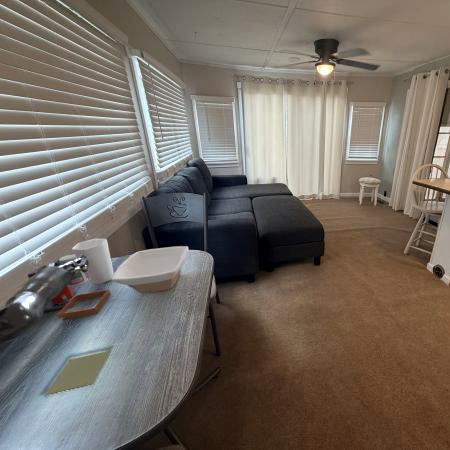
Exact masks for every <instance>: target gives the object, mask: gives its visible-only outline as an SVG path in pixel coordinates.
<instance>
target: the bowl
mask: <svg viewBox="0 0 450 450" xmlns="http://www.w3.org/2000/svg"><path fill="white" fill-rule="evenodd" d="M188 256H189V246H187V245H185V246H183V245H180V246H179V245H178V246H177V245H176V246H170V247H169V246H168V247H160V248H151V249H150V248H149V249H146V250H145V249H144V250H140V251H136V252H134V253H133V254H132V255H130V256H129V257H128V258H127V259H125V260H124V261H122V263H121V264H120V265H119V266H118V267H117V269H116V270H115V271H114V274H113V277H112V279H111V280H110V281H111V283H112V282H113V283H116V284H121V285H125V286H127V287H129V288H131V289H133V290H135V291H136V292H138V293H140V294H149V293H157V292H164V291H167V290H171V289H172V288H173V287H174V286H175V284H176V283H177V281H178V279H179V277H180V276H179V275H180V273H181V269H182V268H183V265H184V264H185V262H186V261H187V260H188Z"/></svg>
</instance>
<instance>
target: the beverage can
mask: <svg viewBox="0 0 450 450" xmlns="http://www.w3.org/2000/svg"><path fill="white" fill-rule="evenodd" d="M75 295H76V293H75V292H74V290H73V287H69V286H68V285H66V286H65V287H64V289H63V290H62V291H61V292H60V293H59V294H58V295H57V296H56V297H55V298H54V299H53V300H52V301H51V303H52V304H55V305H65V304H67V303H68V302H69V301H70V300H71V299H72V298H73V297H74V296H75Z"/></svg>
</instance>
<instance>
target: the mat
mask: <svg viewBox="0 0 450 450" xmlns="http://www.w3.org/2000/svg"><path fill="white" fill-rule="evenodd" d="M111 353H112V350H106V351H102V352H97V353H93V354H92V353H91V354H88V355H84V356H79V357H74V358H69V359H68V361H67V363H66V364H65V366H64V367H63V368H62V370H61V371H60V372H59V374H58V375H57V376H56V378H55V380H54V381H53V382H52V384H51V385H50V387H49V388H48V390H47V391H46V392H45V394H44V396H45V395H48V396H50V395H49V394H52V395H55V394H54V393H56V394H59V393H58V392H60V393H63V392H62V391H64V392H67V391H66V390H68V391H71V389H72V390H76V389H80V387H81V388H84V386H85V387H88V385H89V386H92V384H93V385H94V384H95V383H96V380H97V379H98V377H99V375H100V373H101V371H102V369H103V368H104V366H105V364H106V362H107V360H108V359H109V356H110V355H111ZM75 388H76V389H75Z"/></svg>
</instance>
